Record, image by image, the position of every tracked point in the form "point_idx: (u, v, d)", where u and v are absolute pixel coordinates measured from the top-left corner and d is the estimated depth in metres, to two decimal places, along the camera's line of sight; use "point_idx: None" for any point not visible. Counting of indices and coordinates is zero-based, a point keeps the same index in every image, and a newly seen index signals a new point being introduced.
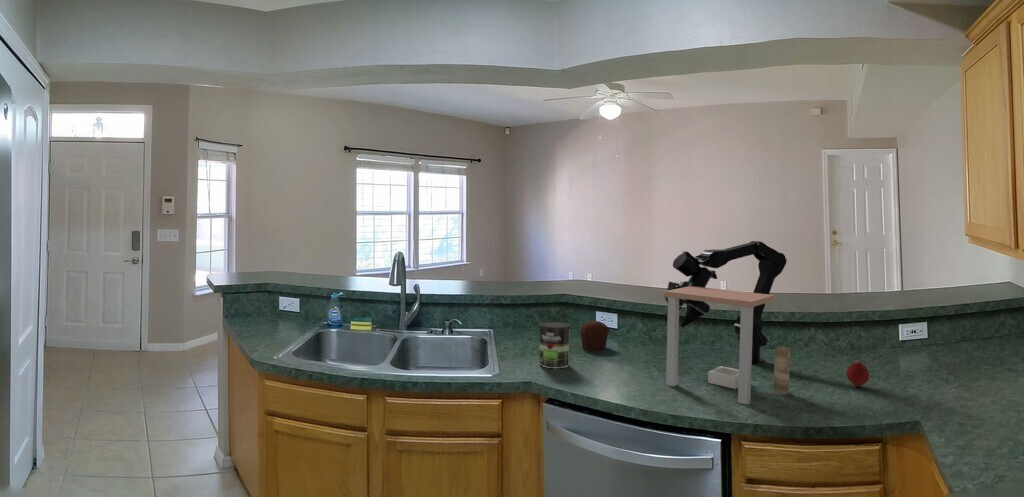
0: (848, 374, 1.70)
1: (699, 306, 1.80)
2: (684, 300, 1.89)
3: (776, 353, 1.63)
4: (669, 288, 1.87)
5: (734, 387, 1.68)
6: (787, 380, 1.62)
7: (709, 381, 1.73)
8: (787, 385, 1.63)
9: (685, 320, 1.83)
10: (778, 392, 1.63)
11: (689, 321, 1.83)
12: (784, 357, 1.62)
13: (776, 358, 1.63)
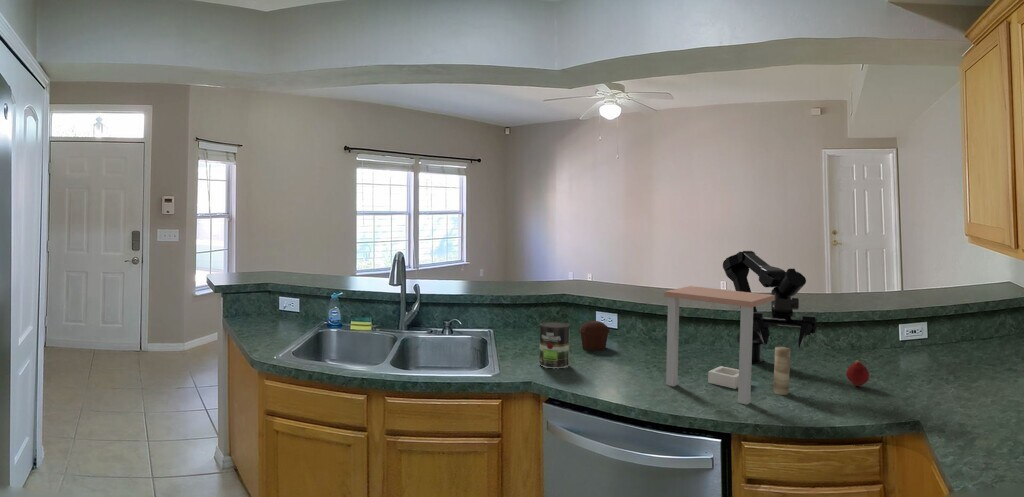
0: (848, 374, 1.70)
1: None
2: (782, 320, 1.73)
3: (776, 353, 1.63)
4: (781, 305, 1.69)
5: (734, 387, 1.68)
6: (787, 380, 1.62)
7: (709, 381, 1.73)
8: (787, 385, 1.63)
9: (802, 340, 1.68)
10: (778, 392, 1.63)
11: (802, 341, 1.69)
12: (783, 357, 1.62)
13: (776, 358, 1.63)
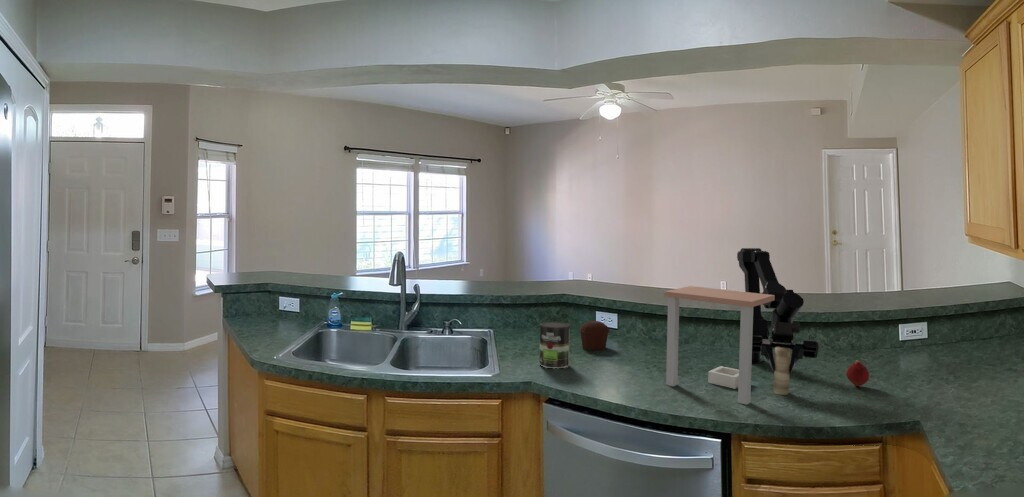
0: (848, 374, 1.70)
1: (818, 348, 1.63)
2: (791, 345, 1.66)
3: (776, 353, 1.63)
4: (781, 329, 1.63)
5: (734, 387, 1.68)
6: (787, 380, 1.62)
7: (709, 381, 1.73)
8: (787, 385, 1.63)
9: (793, 364, 1.62)
10: (778, 392, 1.63)
11: (793, 366, 1.64)
12: (783, 357, 1.62)
13: (776, 358, 1.63)
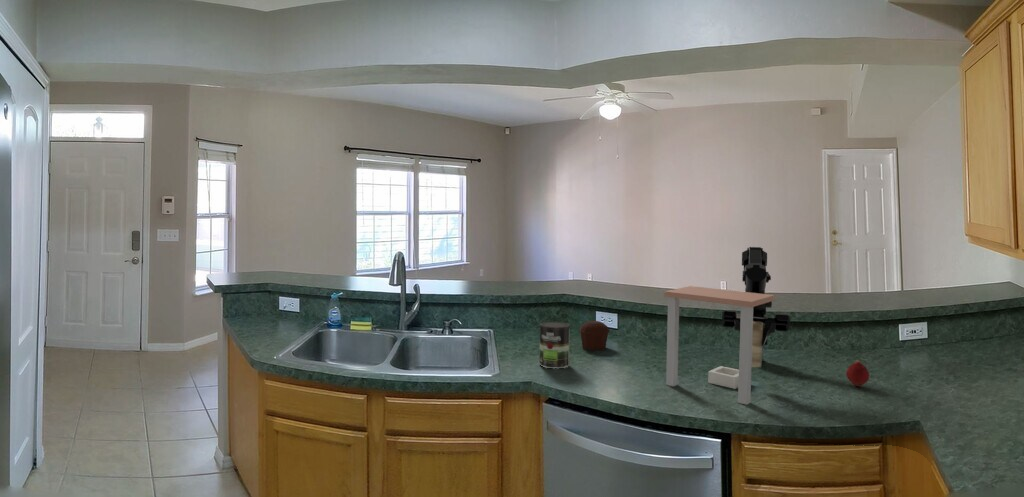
0: (848, 374, 1.70)
1: None
2: (764, 319, 1.70)
3: None
4: None
5: (734, 387, 1.68)
6: (760, 353, 1.67)
7: (709, 381, 1.73)
8: (760, 358, 1.67)
9: (766, 338, 1.67)
10: (751, 365, 1.67)
11: (766, 339, 1.68)
12: (756, 330, 1.66)
13: None
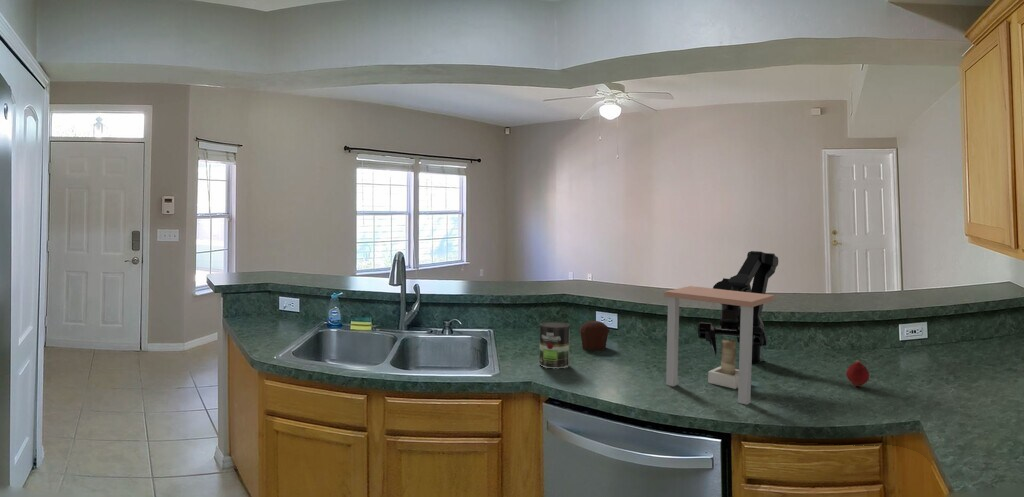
0: (848, 374, 1.70)
1: (762, 334, 1.72)
2: (733, 331, 1.76)
3: (722, 345, 1.72)
4: (727, 316, 1.72)
5: (734, 387, 1.68)
6: (733, 371, 1.72)
7: (709, 381, 1.73)
8: (733, 375, 1.72)
9: None
10: None
11: None
12: (729, 349, 1.71)
13: (722, 350, 1.72)
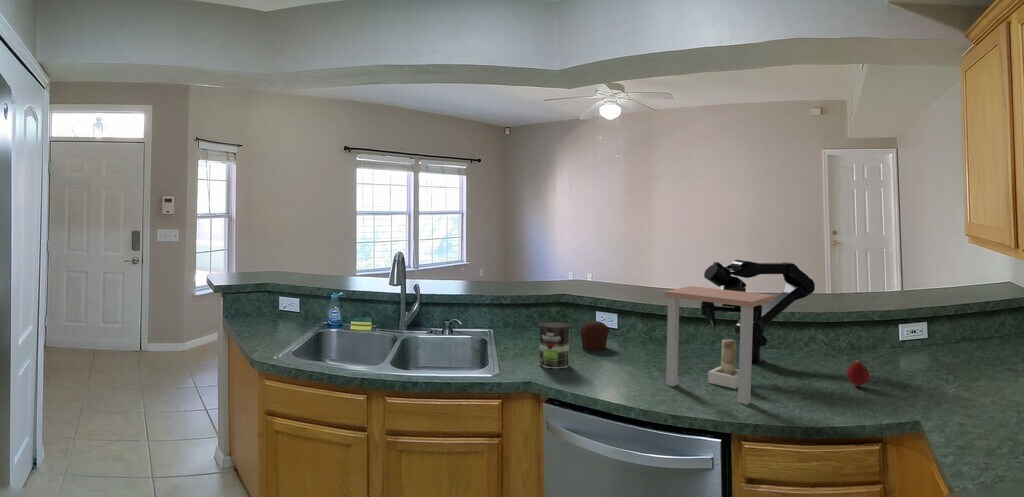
0: (848, 374, 1.70)
1: (761, 311, 1.83)
2: (731, 307, 1.88)
3: (722, 345, 1.72)
4: None
5: (734, 387, 1.68)
6: (733, 371, 1.72)
7: (709, 381, 1.73)
8: (733, 375, 1.72)
9: None
10: None
11: None
12: (729, 349, 1.71)
13: (722, 350, 1.72)
